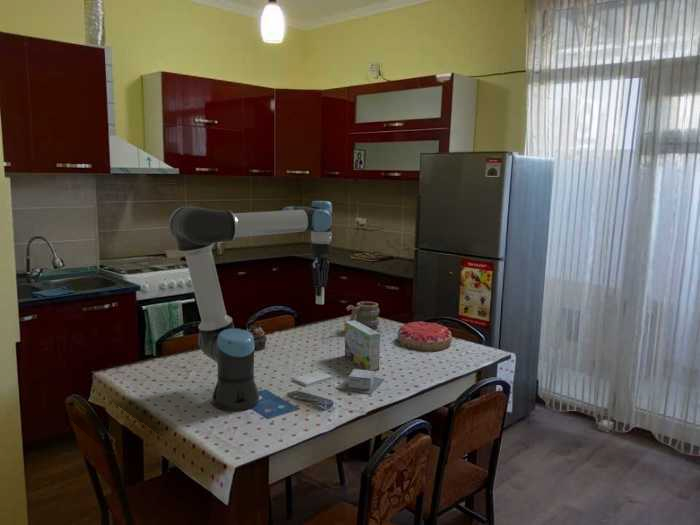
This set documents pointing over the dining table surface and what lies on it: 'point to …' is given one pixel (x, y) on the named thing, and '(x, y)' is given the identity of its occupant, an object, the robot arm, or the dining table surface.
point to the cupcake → (257, 337)
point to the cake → (424, 336)
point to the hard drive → (312, 378)
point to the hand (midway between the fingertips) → (319, 303)
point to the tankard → (366, 314)
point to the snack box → (362, 345)
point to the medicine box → (361, 379)
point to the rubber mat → (345, 387)
